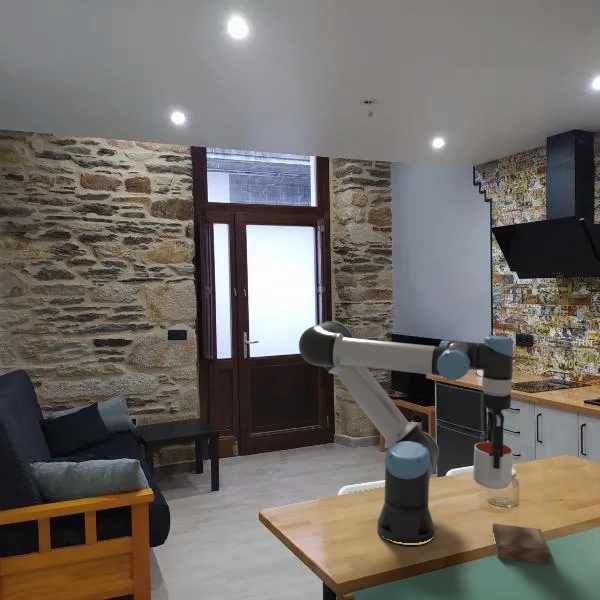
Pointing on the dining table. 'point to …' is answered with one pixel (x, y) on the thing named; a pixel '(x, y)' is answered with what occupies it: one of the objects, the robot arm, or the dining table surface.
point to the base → (520, 543)
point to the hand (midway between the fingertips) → (493, 471)
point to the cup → (483, 466)
